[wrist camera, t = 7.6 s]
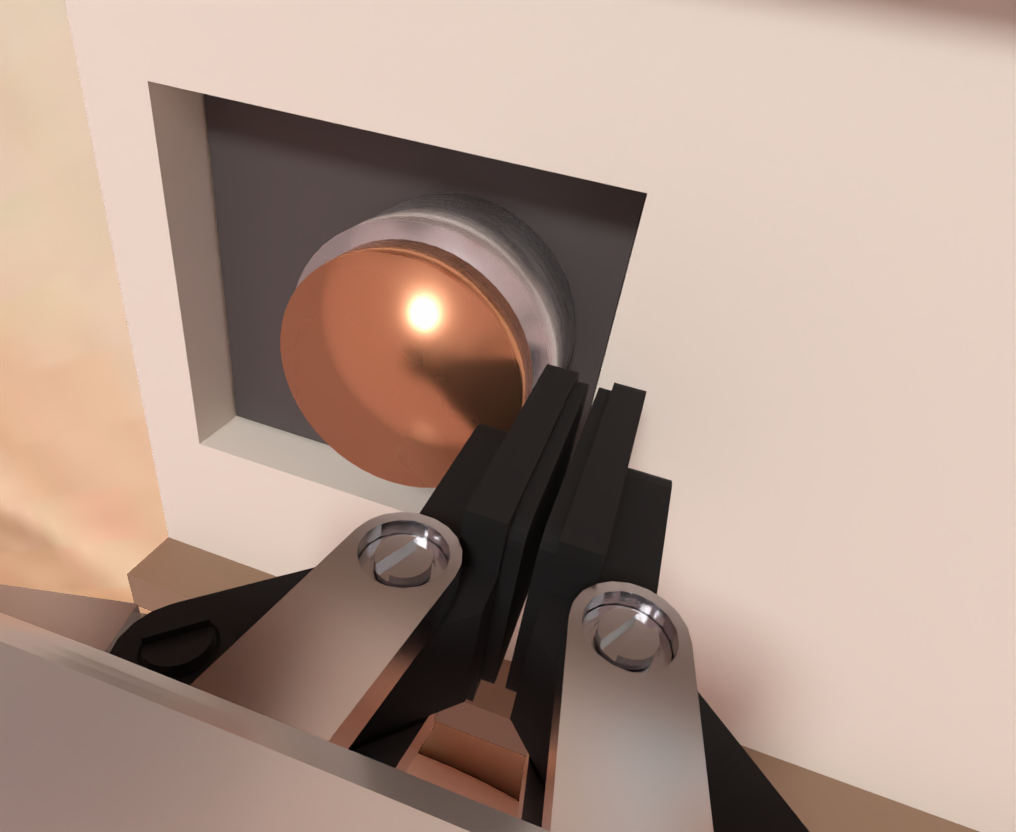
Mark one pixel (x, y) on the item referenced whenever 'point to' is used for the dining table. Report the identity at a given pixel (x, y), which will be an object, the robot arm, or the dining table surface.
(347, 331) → the puck
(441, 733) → the dining table surface
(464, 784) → the bowl
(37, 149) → the dining table surface
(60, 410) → the dining table surface
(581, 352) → the board
